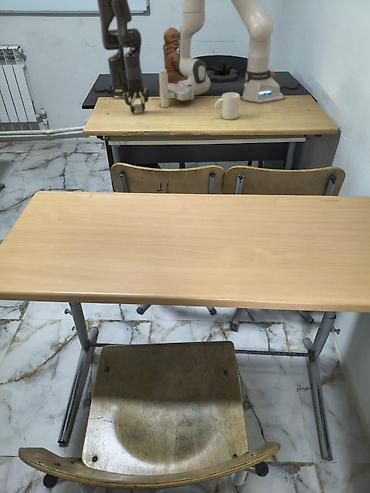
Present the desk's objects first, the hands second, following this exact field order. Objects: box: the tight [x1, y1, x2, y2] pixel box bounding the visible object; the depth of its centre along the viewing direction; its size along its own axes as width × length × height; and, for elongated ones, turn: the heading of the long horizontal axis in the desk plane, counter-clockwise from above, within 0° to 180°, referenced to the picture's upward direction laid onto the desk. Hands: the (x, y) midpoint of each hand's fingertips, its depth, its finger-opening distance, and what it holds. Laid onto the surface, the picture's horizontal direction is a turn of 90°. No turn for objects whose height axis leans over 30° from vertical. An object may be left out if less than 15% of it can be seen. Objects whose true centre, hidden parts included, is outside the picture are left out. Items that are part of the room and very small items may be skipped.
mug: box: [214, 92, 241, 120], centre depth 173 cm, size 12×8×10 cm
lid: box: [133, 103, 143, 112], centre depth 183 cm, size 5×5×2 cm
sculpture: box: [157, 27, 188, 86], centre depth 214 cm, size 27×24×30 cm
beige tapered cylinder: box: [158, 69, 170, 108], centre depth 186 cm, size 4×4×18 cm
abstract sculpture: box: [206, 58, 239, 83], centre depth 227 cm, size 25×9×20 cm
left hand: (138, 111), depth 184 cm, fingers closed on lid, 5 cm apart
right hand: (162, 94), depth 188 cm, fingers closed on beige tapered cylinder, 4 cm apart
